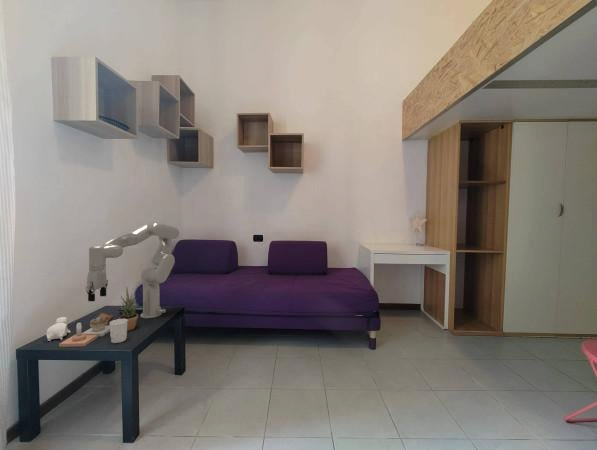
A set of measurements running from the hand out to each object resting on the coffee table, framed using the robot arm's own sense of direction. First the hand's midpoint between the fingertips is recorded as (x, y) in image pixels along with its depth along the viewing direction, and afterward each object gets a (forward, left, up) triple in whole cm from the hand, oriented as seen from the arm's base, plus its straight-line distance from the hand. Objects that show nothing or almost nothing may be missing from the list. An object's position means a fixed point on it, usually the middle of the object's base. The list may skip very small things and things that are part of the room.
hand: (97, 298), depth 153 cm
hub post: (+2, +12, -19) cm, 22 cm away
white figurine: (+18, +4, -19) cm, 26 cm away
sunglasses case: (+7, -16, -20) cm, 27 cm away
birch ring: (0, 0, -15) cm, 15 cm away
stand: (0, 0, -19) cm, 19 cm away
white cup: (-17, +11, -19) cm, 28 cm away
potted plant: (-14, -4, -19) cm, 24 cm away
